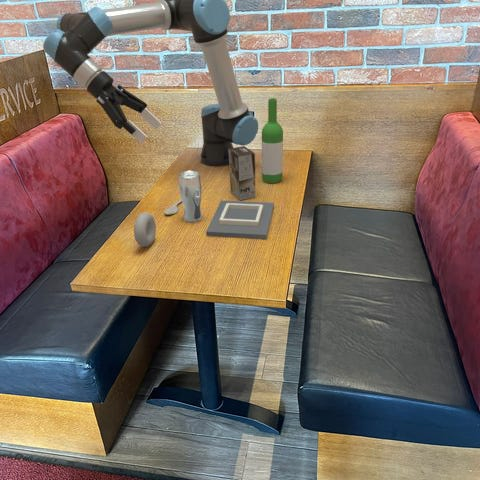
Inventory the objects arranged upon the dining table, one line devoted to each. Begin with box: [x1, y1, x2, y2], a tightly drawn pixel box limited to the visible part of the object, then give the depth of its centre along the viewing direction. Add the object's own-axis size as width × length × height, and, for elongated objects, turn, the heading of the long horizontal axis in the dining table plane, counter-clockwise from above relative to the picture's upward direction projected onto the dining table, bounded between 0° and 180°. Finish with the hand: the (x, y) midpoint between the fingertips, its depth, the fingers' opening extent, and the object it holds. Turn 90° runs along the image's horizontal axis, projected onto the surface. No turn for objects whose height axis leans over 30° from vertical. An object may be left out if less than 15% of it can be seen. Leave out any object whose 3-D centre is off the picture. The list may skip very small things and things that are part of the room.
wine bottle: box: [261, 98, 284, 184], centre depth 164 cm, size 8×8×30 cm
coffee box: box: [228, 145, 256, 201], centre depth 157 cm, size 9×6×16 cm
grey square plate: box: [205, 199, 275, 240], centre depth 142 cm, size 22×18×3 cm
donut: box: [133, 211, 157, 248], centre depth 129 cm, size 10×4×10 cm, turn 167°
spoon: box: [163, 199, 182, 215], centre depth 155 cm, size 4×21×2 cm, turn 163°
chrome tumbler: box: [177, 170, 203, 223], centre depth 142 cm, size 7×7×15 cm
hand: (152, 133), depth 133 cm, fingers open, 13 cm apart
